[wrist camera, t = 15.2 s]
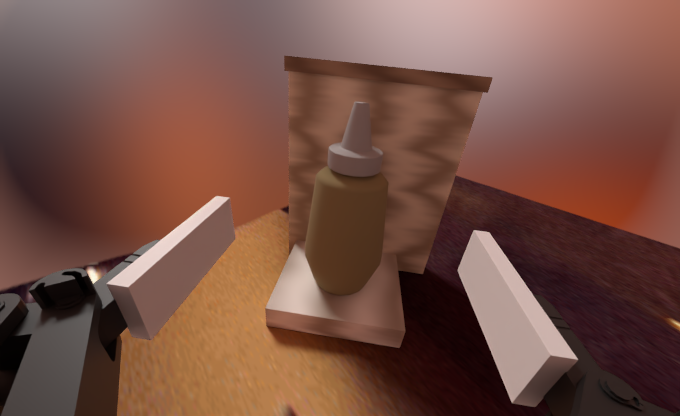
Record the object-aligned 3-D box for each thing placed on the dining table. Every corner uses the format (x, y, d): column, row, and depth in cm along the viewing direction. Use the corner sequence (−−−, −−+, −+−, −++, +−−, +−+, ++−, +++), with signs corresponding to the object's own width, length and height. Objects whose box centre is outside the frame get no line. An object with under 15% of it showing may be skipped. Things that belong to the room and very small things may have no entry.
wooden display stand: (422, 262, 36) (481, 77, 25) (445, 355, 24) (578, 82, 13) (291, 243, 37) (292, 57, 26) (253, 323, 25) (224, 45, 14)
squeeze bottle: (378, 310, 25) (426, 116, 16) (296, 300, 25) (299, 103, 16) (374, 257, 32) (405, 102, 23) (310, 249, 32) (317, 92, 23)
